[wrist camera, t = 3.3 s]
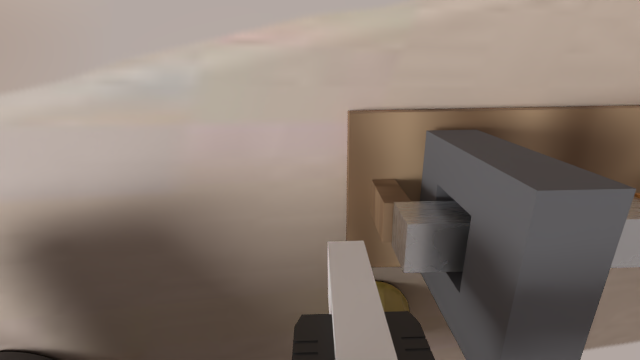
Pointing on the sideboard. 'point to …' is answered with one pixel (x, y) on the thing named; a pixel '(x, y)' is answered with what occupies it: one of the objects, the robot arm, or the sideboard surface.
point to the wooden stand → (506, 123)
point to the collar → (522, 246)
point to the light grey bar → (453, 229)
